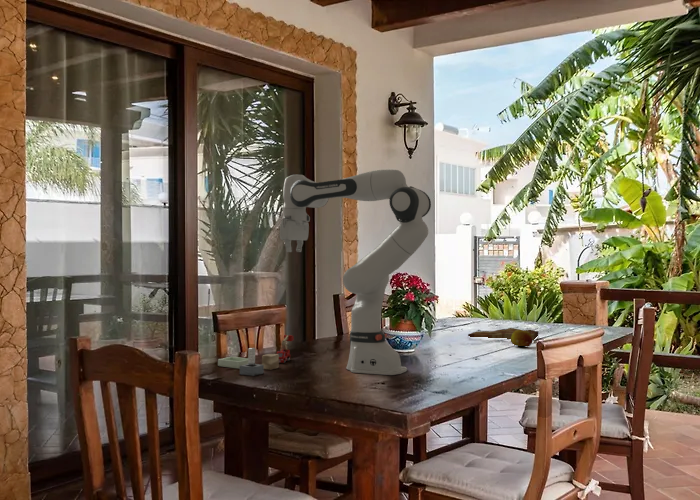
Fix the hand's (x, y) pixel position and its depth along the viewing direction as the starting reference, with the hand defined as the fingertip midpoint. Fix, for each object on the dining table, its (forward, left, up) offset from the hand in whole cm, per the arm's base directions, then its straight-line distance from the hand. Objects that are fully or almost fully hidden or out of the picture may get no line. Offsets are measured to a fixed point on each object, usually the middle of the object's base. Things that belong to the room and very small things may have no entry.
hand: (294, 252), depth 273 cm
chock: (0, +15, -43) cm, 46 cm away
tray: (+14, +18, -43) cm, 49 cm away
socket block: (-1, +28, -43) cm, 51 cm away
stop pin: (-1, +28, -43) cm, 51 cm away
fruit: (-66, -91, -43) cm, 120 cm away
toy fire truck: (+5, -2, -43) cm, 44 cm away
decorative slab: (-50, -117, -44) cm, 135 cm away
